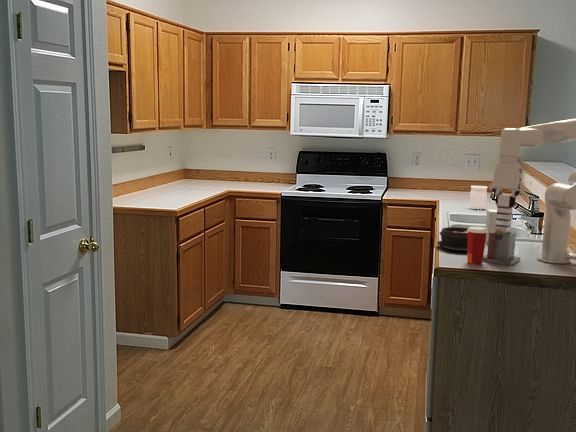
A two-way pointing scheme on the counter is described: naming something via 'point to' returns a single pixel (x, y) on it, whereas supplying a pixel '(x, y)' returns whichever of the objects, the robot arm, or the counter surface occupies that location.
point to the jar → (478, 196)
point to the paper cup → (476, 245)
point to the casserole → (454, 238)
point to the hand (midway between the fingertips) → (505, 205)
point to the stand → (501, 249)
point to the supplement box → (490, 222)
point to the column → (503, 214)
